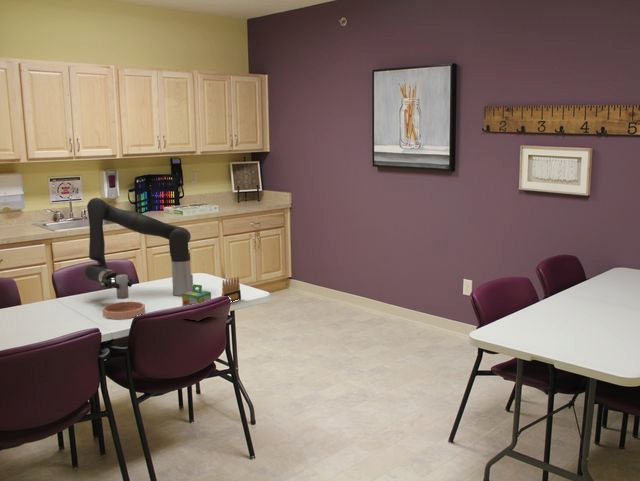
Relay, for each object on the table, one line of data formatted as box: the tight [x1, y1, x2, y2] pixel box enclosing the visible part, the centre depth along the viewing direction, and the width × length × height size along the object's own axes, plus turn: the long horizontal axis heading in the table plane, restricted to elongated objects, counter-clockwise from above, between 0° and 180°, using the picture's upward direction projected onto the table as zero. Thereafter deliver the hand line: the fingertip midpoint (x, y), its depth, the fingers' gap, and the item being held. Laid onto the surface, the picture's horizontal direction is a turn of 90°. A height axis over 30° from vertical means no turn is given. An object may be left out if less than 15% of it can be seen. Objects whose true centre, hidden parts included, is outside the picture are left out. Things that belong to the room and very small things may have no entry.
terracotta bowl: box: [102, 301, 146, 320], centre depth 280 cm, size 18×18×3 cm
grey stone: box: [115, 274, 130, 300], centre depth 278 cm, size 5×5×10 cm
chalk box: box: [181, 283, 212, 307], centre depth 271 cm, size 9×9×15 cm
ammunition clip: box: [221, 275, 242, 303], centre depth 296 cm, size 11×2×12 cm, turn 139°
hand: (124, 285), depth 276 cm, fingers closed on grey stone, 5 cm apart
